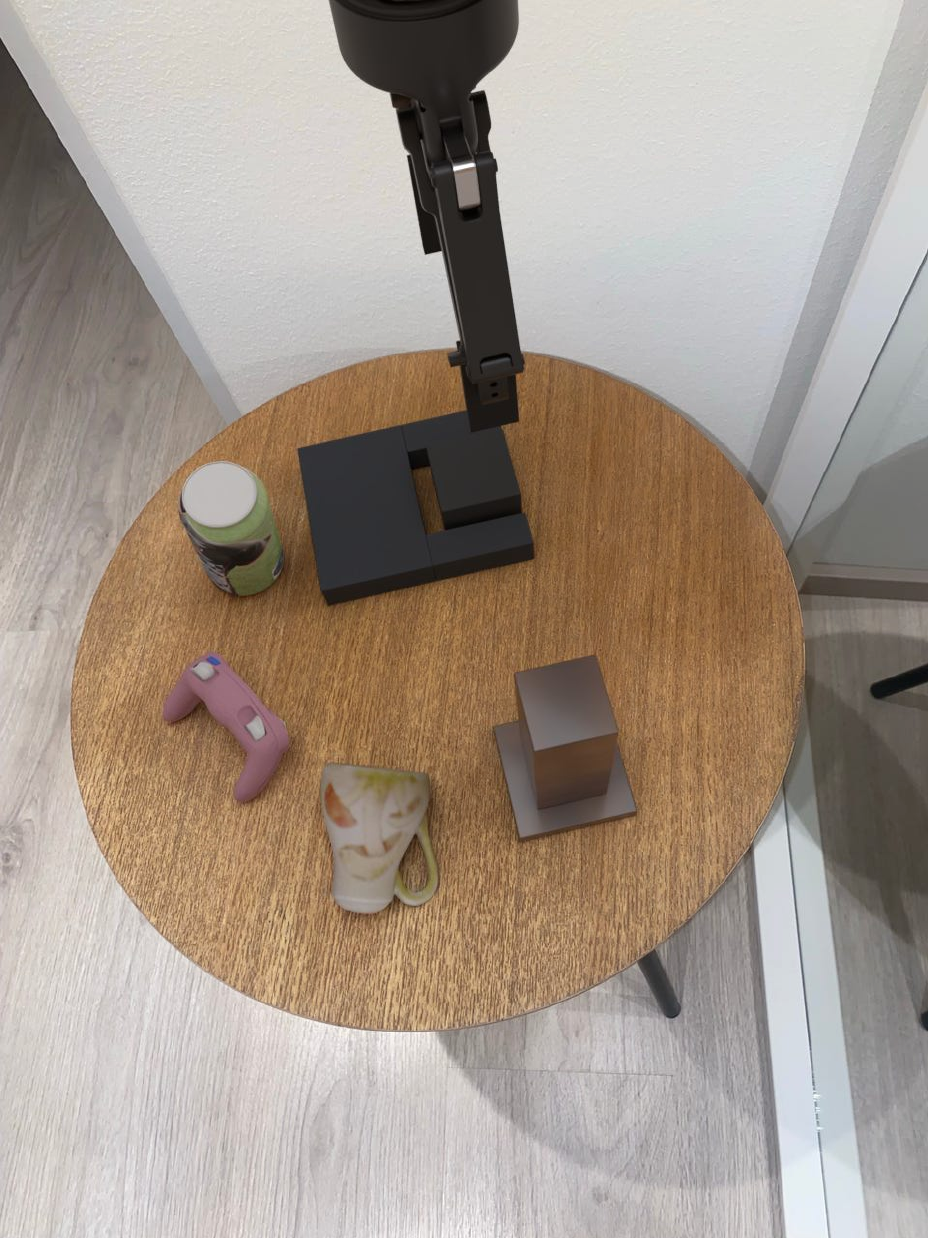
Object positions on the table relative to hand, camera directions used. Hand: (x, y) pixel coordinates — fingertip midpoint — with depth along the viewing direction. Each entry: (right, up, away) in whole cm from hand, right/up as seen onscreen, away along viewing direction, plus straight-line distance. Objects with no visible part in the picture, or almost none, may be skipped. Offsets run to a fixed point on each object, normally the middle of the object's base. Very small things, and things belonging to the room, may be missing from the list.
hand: (468, 329), depth 56 cm
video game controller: (-17, -25, +14) cm, 33 cm away
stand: (+7, -27, +10) cm, 30 cm away
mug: (-6, -32, +9) cm, 34 cm away
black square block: (+1, -7, +20) cm, 21 cm away
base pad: (-4, -8, +20) cm, 22 cm away
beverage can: (-16, -13, +19) cm, 28 cm away
